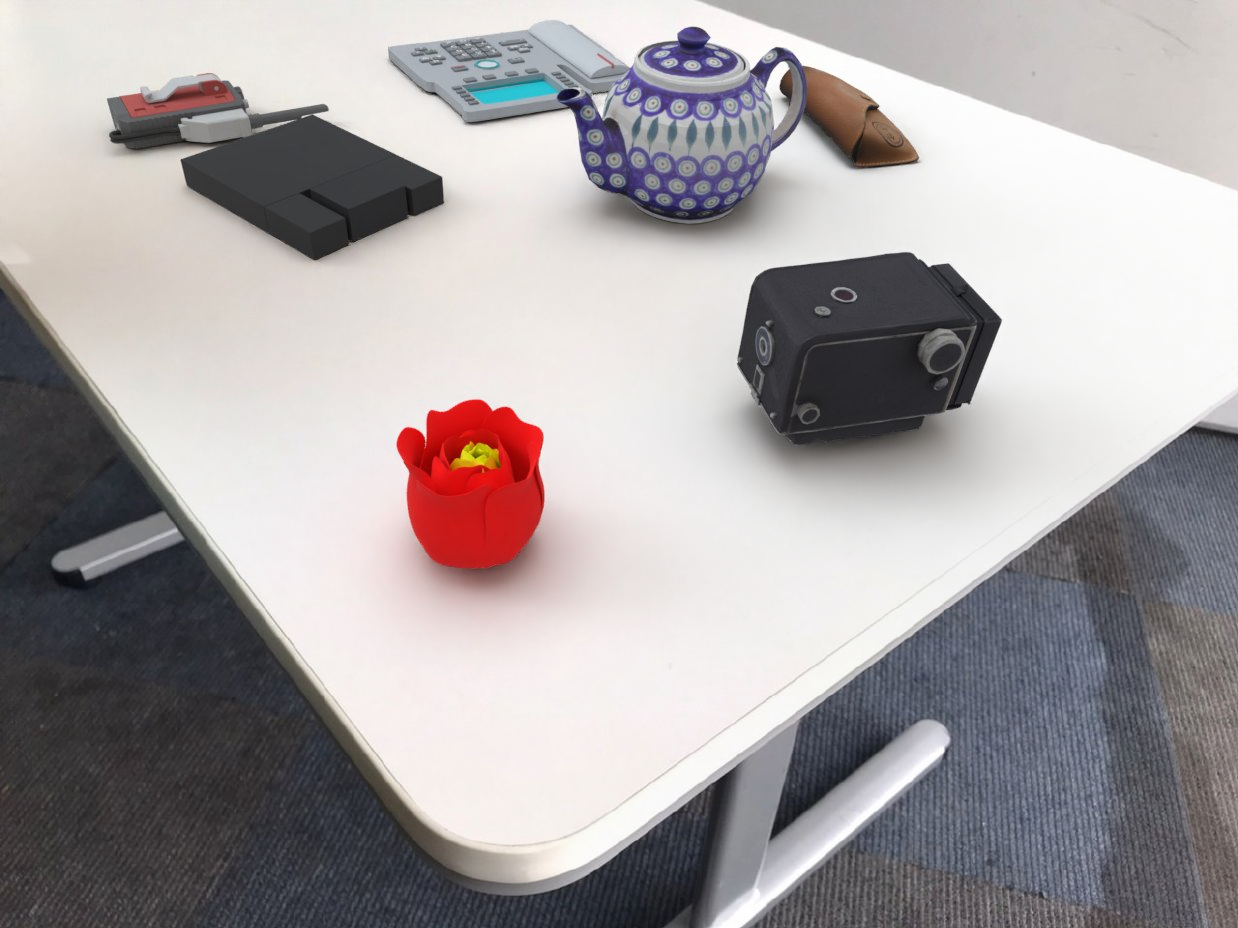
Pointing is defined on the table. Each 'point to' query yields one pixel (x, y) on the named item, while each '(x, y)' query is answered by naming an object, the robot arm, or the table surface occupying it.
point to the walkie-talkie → (190, 113)
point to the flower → (473, 484)
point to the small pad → (363, 201)
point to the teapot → (685, 127)
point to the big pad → (300, 180)
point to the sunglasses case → (852, 120)
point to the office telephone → (509, 69)
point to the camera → (862, 345)
